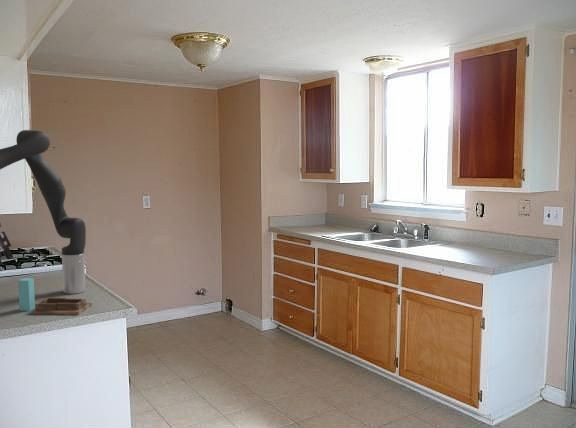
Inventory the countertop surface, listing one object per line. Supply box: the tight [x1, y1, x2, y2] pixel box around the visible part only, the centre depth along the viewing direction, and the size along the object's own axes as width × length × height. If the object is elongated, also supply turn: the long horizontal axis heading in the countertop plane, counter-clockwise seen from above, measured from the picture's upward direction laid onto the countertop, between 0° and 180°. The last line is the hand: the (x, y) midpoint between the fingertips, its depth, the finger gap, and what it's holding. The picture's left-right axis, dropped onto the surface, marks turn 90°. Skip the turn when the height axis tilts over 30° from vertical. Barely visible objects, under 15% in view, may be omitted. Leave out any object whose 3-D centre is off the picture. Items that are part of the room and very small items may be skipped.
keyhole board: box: [30, 297, 93, 316], centre depth 204 cm, size 13×18×4 cm
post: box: [17, 277, 36, 312], centre depth 204 cm, size 4×4×12 cm
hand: (5, 258), depth 193 cm, fingers open, 8 cm apart
